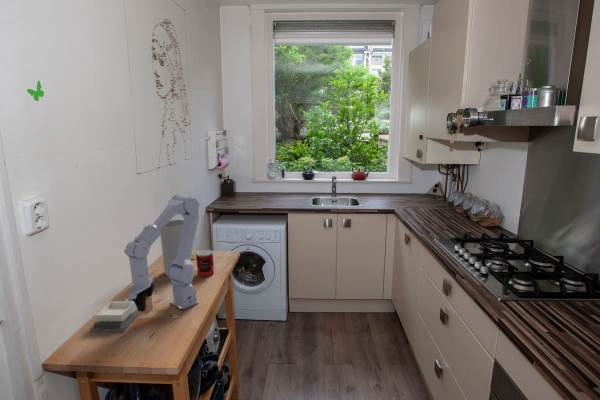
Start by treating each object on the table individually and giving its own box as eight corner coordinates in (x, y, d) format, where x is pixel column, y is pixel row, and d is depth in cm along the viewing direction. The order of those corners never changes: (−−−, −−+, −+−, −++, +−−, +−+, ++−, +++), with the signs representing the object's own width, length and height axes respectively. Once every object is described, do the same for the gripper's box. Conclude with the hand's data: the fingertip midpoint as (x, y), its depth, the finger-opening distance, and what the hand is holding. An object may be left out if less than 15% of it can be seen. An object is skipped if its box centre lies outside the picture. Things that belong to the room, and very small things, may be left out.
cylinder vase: (160, 278, 174) (154, 227, 169) (170, 267, 186) (165, 220, 181) (186, 277, 174) (181, 226, 168) (195, 267, 186) (190, 219, 180)
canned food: (207, 269, 183) (205, 248, 181) (217, 273, 178) (215, 251, 176) (194, 274, 177) (192, 252, 175) (204, 278, 172) (202, 256, 170)
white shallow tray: (111, 310, 142) (110, 301, 141) (136, 310, 141) (135, 301, 141) (96, 324, 132) (94, 315, 131) (123, 324, 132) (121, 315, 131)
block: (142, 308, 138) (140, 296, 137) (152, 308, 138) (151, 296, 137) (137, 314, 134) (135, 301, 133) (148, 313, 134) (146, 301, 133)
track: (122, 301, 152) (121, 294, 151) (151, 301, 152) (150, 294, 151) (90, 331, 131) (89, 324, 130) (123, 331, 130) (122, 323, 129)
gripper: (138, 265, 140) (143, 298, 143) (118, 282, 126) (124, 318, 129) (156, 265, 139) (161, 298, 142) (138, 281, 125) (143, 317, 128)
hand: (144, 307), depth 136 cm, fingers closed on block, 4 cm apart
